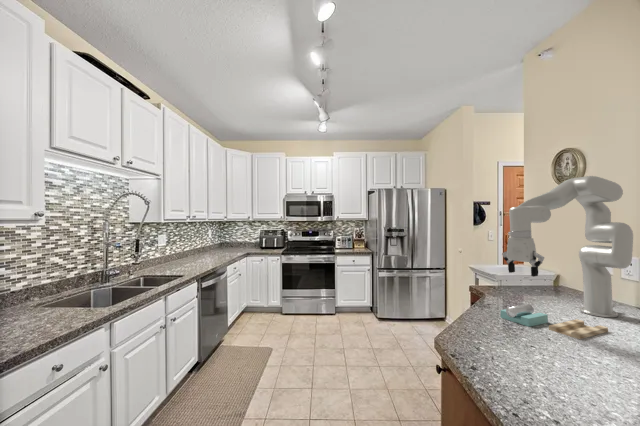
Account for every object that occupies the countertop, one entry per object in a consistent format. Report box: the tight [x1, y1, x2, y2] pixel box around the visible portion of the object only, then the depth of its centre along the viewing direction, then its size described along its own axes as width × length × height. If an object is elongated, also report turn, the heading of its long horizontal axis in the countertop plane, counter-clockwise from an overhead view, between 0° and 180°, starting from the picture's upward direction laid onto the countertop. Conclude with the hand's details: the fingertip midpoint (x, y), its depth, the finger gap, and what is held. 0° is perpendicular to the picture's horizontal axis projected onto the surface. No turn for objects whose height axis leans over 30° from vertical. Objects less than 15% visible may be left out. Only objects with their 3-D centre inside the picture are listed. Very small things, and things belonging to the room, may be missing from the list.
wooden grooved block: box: [548, 318, 609, 340], centre depth 110 cm, size 18×10×2 cm, turn 110°
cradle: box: [499, 308, 549, 328], centre depth 122 cm, size 12×12×4 cm
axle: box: [505, 303, 535, 317], centre depth 123 cm, size 12×4×4 cm
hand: (522, 274), depth 123 cm, fingers open, 9 cm apart
